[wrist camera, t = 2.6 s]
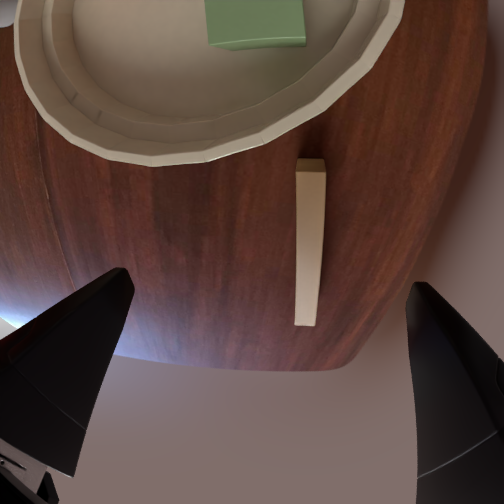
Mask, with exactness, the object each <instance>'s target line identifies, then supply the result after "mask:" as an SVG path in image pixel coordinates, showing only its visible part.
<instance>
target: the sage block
mask: <svg viewBox="0 0 504 504" xmlns="http://www.w3.org/2000/svg"><path fill="white" fill-rule="evenodd" d="M204 3H205V14H206V24H207V34H208V44H209V46H213V47H218V48H222V49H226V50H230V51H239V50H249V49H261V48H279V47H306V26H305V16H304V6H303V0H204Z"/></svg>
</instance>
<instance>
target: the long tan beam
mask: <svg viewBox="0 0 504 504" xmlns="http://www.w3.org/2000/svg"><path fill="white" fill-rule="evenodd" d="M325 198H326V168H325V162H324V159H305V158H298V159H297V166H296V291H295V322H294V325H299V326H315V323H316V315H317V306H318V296H319V286H320V275H321V264H322V251H323V236H324V219H325Z"/></svg>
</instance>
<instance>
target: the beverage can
mask: <svg viewBox="0 0 504 504" xmlns="http://www.w3.org/2000/svg"><path fill="white" fill-rule="evenodd" d="M17 4H18V0H0V28H1V27H7V26H9V25H11V24H12V23H14V20H15V14H16V9H17Z"/></svg>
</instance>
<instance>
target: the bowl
mask: <svg viewBox="0 0 504 504" xmlns="http://www.w3.org/2000/svg"><path fill="white" fill-rule="evenodd" d="M404 4H405V0H303V6H304V16H305V26H306V47H279V48H261V49H249V50H239V51H230V50H226V49H222V48H218V47H213V46H209V44H208V34H207V24H206V14H205V3H204V0H18V4H17V9H16V14H15V20H14V47H15V59H16V63H17V66H18V70H19V73H20V76H21V79H22V83H23V86H24V89H25V91H26V93H27V94H28V96H29V98H30V99H31V101H32V102H33V104H34V105H35V107H36V109H37V110H38V112H39V113H40V115H41V116H42V118H43V119H44V120H45V121H46V122H47V123H48V124H49V125H51V126H52V127H53V128H54V129H55V130H56V131H58V132H59V133H60V134H61V135H62V136H63V137H64V138H66V139H67V140H68V141H69V142H70V143H72V144H74V145H77V146H79V147H81V148H83V149H85V150H88V151H90V152H92V153H94V154H96V155H98V156H101V157H103V158H105V159H108V160H114V161H120V162H127V163H133V164H139V165H145V166H151V167H152V166H153V167H156V166H166V165H178V164H190V163H205V162H209V161H212V160H215V159H218V158H221V157H224V156H228V155H231V154H234V153H237V152H240V151H244V150H247V149H250V148H254V147H257V146H261V145H264V144H265V143H268V142H270V141H272V140H273V139H275V138H277V137H279V136H280V135H282V134H284V133H286V132H287V131H289V130H291V129H293V128H295V127H296V126H298V125H300V124H302V123H304V122H306V121H307V120H309V119H311V118H313V117H315V116H317V115H319V114H321V113H322V112H324V111H325V110H326V109H327V108H328V107H329V106H331V105H332V104H333V103H334V102H335V101H336V100H337V99H338V98H339V97H340V96H341V95H343V94H344V93H345V92H346V91H347V90H348V89H349V88H350V87H351V86H353V85H354V84H355V83H356V82H357V81H358V80H359V79H360V78H362V77H363V76H364V75H365V74H366V73H367V72H368V71H370V70H371V68H372V67H373V65H374V64H375V62H376V60H377V59H378V57H379V56H380V54H381V52H382V51H383V49H384V47H385V46H386V44H387V43H388V41H389V39H390V38H391V36H392V34H393V33H394V31H395V29H396V28H397V26H398V25H399V23H400V21H401V19H402V14H403V9H404Z"/></svg>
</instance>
